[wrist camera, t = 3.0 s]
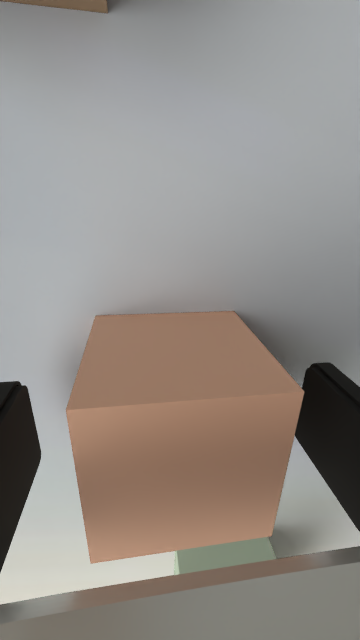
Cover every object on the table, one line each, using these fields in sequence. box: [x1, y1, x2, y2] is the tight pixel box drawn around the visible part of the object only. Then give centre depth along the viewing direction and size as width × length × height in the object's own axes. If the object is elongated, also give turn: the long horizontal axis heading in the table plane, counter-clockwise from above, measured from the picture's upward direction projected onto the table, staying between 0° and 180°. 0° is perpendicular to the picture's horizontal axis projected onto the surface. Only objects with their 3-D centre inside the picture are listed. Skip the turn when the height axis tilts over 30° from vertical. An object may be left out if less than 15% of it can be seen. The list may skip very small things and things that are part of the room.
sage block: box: [174, 537, 277, 575], centre depth 15 cm, size 5×5×5 cm
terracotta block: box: [66, 311, 304, 563], centre depth 9 cm, size 5×5×5 cm
